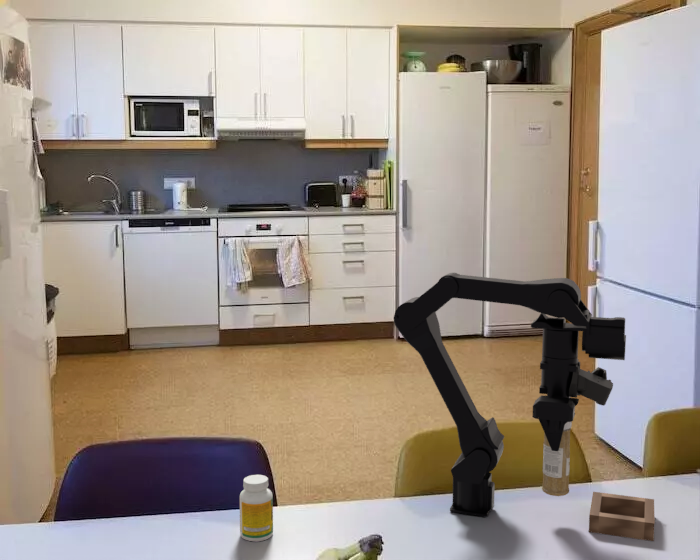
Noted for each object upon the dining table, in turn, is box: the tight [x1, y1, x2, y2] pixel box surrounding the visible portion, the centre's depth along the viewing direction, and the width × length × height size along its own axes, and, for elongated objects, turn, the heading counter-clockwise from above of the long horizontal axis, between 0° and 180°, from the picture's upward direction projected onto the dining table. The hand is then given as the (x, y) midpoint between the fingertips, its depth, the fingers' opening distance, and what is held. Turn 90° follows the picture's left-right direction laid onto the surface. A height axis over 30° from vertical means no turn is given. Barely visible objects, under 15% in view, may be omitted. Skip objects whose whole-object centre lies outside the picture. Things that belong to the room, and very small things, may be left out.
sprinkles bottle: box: [541, 421, 573, 497], centre depth 137 cm, size 5×5×14 cm
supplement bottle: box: [238, 474, 274, 543], centre depth 132 cm, size 5×5×10 cm
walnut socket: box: [588, 491, 656, 542], centre depth 136 cm, size 10×10×3 cm
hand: (556, 446), depth 137 cm, fingers closed on sprinkles bottle, 4 cm apart
